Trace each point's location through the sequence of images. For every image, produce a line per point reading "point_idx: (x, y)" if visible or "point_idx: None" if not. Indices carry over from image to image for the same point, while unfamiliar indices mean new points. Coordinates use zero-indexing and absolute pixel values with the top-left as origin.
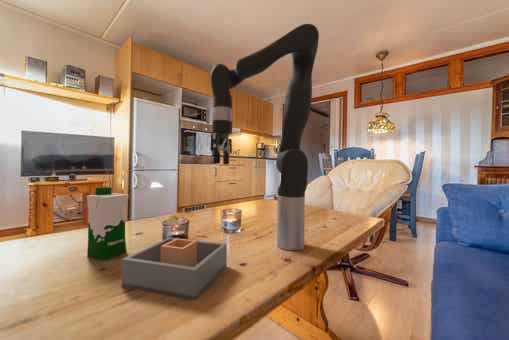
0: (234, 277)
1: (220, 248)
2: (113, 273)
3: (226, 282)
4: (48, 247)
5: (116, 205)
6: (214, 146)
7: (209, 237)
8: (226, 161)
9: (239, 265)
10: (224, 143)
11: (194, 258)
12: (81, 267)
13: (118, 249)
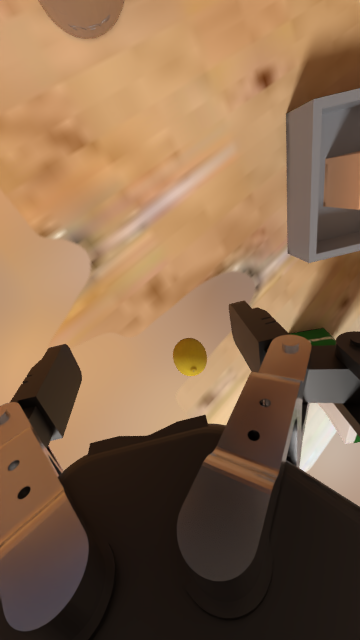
0: (326, 61)
1: (347, 93)
2: (353, 277)
3: (347, 66)
4: (305, 425)
5: None
6: (300, 444)
7: (153, 271)
8: (65, 369)
9: (273, 84)
10: (221, 442)
11: (348, 154)
12: (346, 330)
13: (309, 334)
